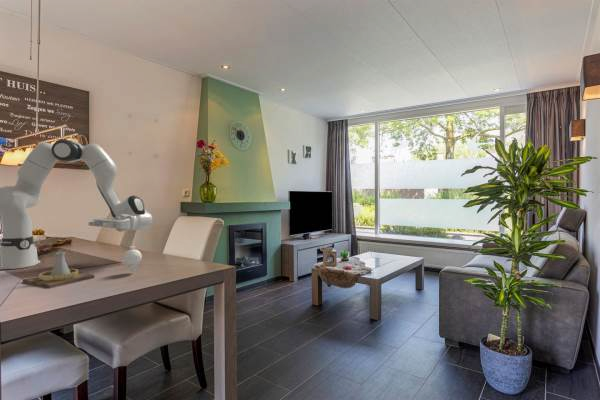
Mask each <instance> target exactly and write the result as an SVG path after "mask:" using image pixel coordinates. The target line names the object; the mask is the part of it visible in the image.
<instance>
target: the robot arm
mask: <svg viewBox="0 0 600 400" xmlns="http://www.w3.org/2000/svg"><path fill="white" fill-rule="evenodd" d="M59 161H60V162H64V163H79V162H81V161H82V162H84V164H86V166H87V167H88V168H89V169H90V171H91V173H92V175H93V176H94V178H95V182H96V186H97V188H98V190H99V192H100V194H101V196H102V198H103V199H104V201H105V203H106V204H107V207H108V209H109V211H110V214H111V217H112V218H94V219H93V221H88V226H89V227H100V228H109V229H115V230H116V231H117V232H128V231H129V232H130V231H140V230H145V229H147V228H149V227H151V226H152V223H153V215H152V214H151V213H150V212H148V211H147V209H146V208H145V203H144V201H143V200H142V198H140V197H139V196H136V195H130V196H129V197H128V196H127V197H126V198H125V199H124V200H123V201H120V200H119V197H118V196H117V194H116V193H115V191H114V188H113V187H114V186H113V183H114V182H115V181H114V180H115V178H116V176H117V174H118V168H117V165H116V163H115V162H114V160H113V159H112V158H111V157H110V155H109V154H108V153H107V152H106V150H105V149H103V148H102V146H100V145H99V144H97V143H88V144H87V145H84V144H82V142H79V141H76V140H71V139H70V140H69V139H58V140H56V141H55V142H54V143H53V144H52V143H49V142H40V143H38V144H36V146H35V147H34V148H33V149H32V150H31V151H30V152H29V154H28V155H27V157H26V158H25V159H24V161H23V162H22V164H21V166H20V167H19V168H18V170H17V180H16V183H15V185H14V186H11V185H7V186H3V187H0V219H1V224H2V238H0V240H1V241H0V271H1V270H12V269H13V270H14V269H23V268H29V267H33V266H36V265H38V264H40V263H41V260H39V259H38V258H39V257H38V251H37V247H36V245H34V236H33V221H32V219H31V218H30V217H29V215H28V212H27V209H29V208H32V207H34V206H36V205H37V204H38V203H39V202H40V201H41V194H40V193H41V190H42V187H43V185H44V182H45V180H46V179H47V177H48V175H49V174H50V173H51V171H52V170H53V167H54V166H55V165H56V163H58V162H59Z"/></svg>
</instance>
